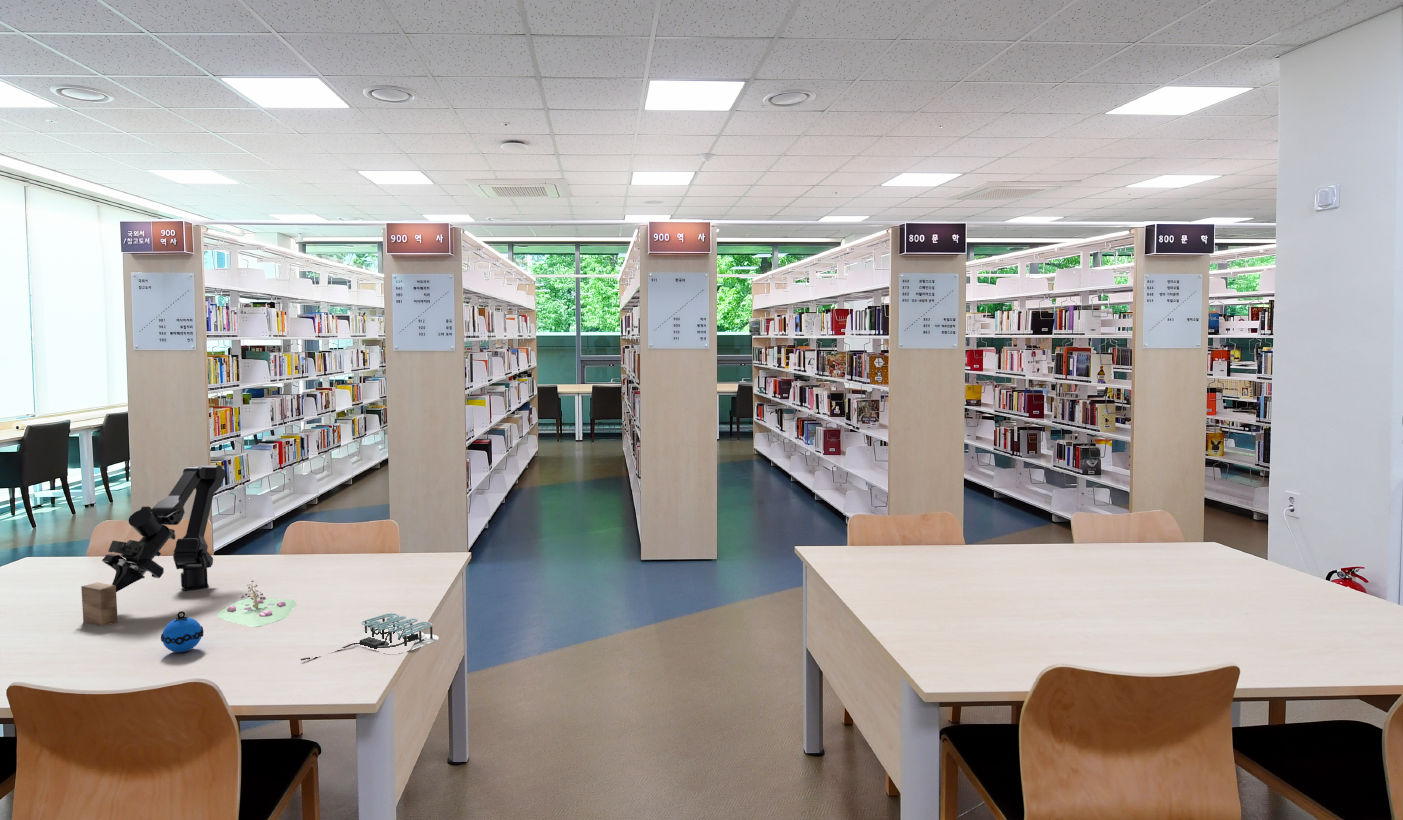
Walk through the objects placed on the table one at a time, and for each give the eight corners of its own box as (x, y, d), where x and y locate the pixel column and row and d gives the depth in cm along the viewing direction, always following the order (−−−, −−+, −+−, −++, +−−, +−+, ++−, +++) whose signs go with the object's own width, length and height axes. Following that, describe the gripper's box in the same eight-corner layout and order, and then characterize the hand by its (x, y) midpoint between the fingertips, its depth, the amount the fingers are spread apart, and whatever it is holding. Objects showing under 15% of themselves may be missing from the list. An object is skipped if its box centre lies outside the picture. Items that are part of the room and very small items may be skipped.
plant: (313, 617, 226) (312, 585, 225) (230, 634, 212) (229, 600, 211) (285, 597, 244) (284, 567, 243) (207, 612, 230) (205, 581, 229)
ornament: (159, 660, 193) (157, 619, 192) (165, 648, 200) (163, 608, 200) (201, 654, 196) (199, 614, 196) (205, 643, 204) (204, 604, 203)
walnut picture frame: (99, 617, 223) (97, 582, 223) (118, 621, 220) (116, 585, 220) (83, 622, 220) (81, 586, 219) (101, 626, 216) (99, 589, 216)
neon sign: (286, 642, 194) (391, 609, 219) (287, 660, 194) (391, 625, 219) (340, 660, 183) (444, 623, 208) (341, 679, 183) (445, 639, 208)
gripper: (107, 525, 230) (66, 573, 220) (151, 531, 222) (110, 581, 213) (137, 547, 237) (99, 594, 228) (180, 553, 230) (142, 602, 221)
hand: (111, 592), depth 222 cm, fingers closed
